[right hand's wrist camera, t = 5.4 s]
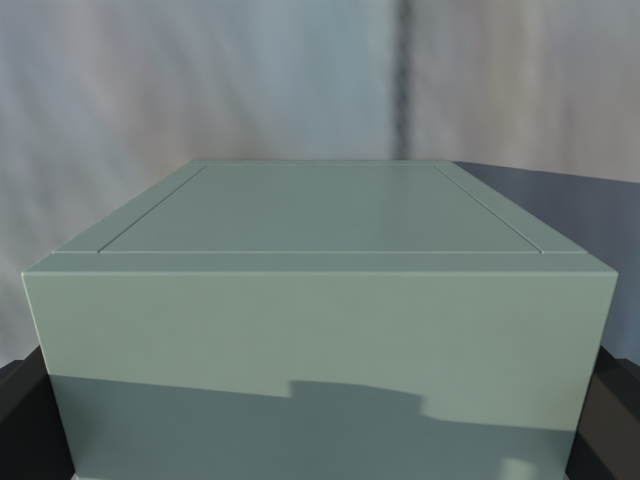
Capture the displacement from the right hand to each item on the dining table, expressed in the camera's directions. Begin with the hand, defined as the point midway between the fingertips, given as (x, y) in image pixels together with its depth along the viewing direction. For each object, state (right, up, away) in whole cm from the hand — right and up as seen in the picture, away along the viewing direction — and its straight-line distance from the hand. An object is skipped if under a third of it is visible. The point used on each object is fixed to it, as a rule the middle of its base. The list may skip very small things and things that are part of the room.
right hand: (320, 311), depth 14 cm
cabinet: (0, -4, +8) cm, 10 cm away
